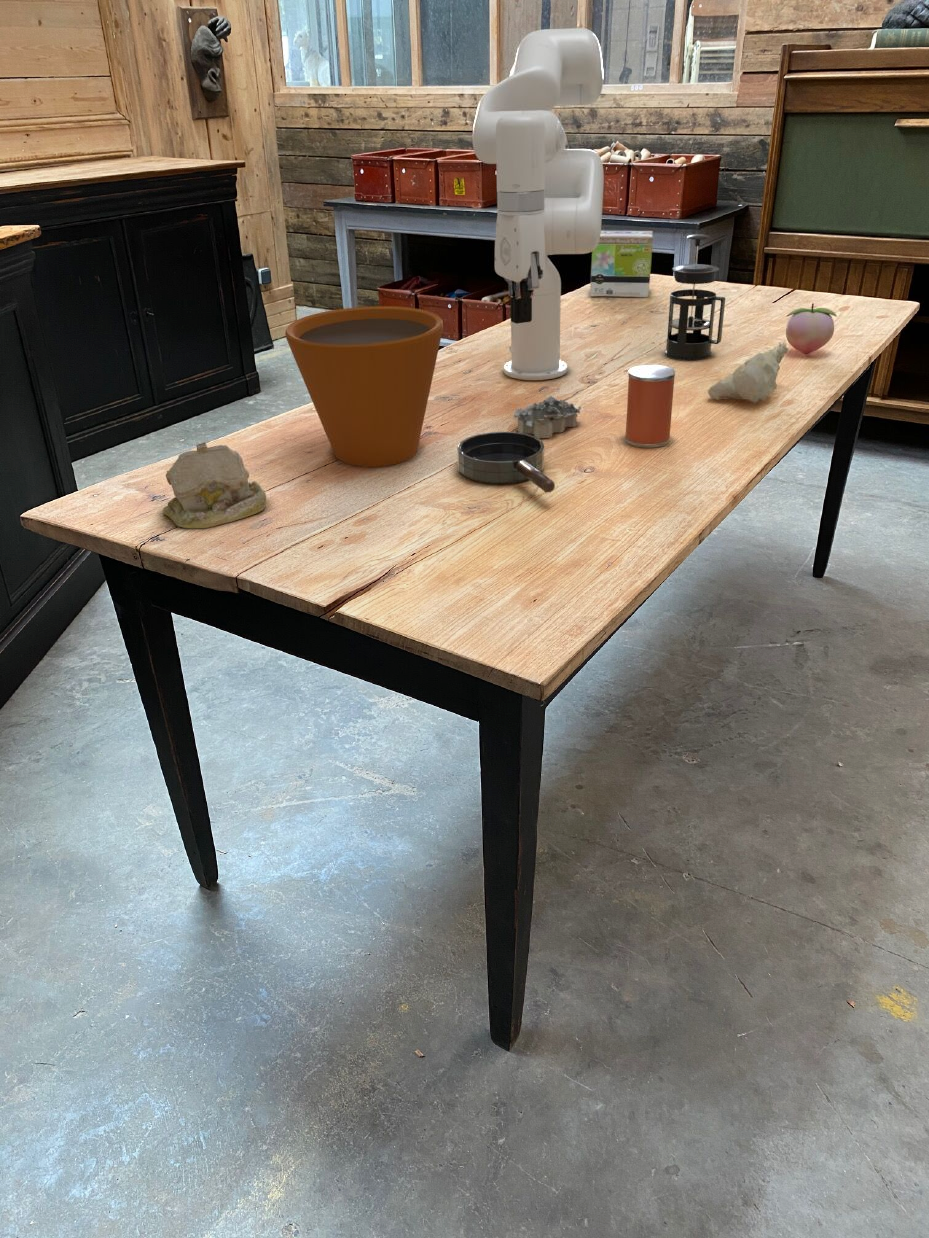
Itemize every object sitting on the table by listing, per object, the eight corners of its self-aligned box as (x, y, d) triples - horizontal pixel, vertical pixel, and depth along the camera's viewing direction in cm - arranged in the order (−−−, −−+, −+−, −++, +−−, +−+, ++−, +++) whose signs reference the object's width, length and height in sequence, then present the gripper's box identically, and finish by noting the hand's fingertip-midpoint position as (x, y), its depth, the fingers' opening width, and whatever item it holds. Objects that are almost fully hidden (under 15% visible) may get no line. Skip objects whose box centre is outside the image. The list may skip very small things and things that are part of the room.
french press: (654, 357, 192) (662, 237, 180) (671, 346, 199) (681, 230, 187) (709, 364, 186) (722, 241, 175) (725, 352, 193) (738, 233, 181)
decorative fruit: (824, 348, 193) (832, 298, 188) (833, 359, 186) (842, 307, 181) (777, 348, 194) (784, 298, 189) (785, 359, 187) (792, 308, 182)
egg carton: (542, 442, 153) (542, 417, 150) (509, 431, 157) (508, 407, 155) (584, 424, 159) (585, 400, 157) (551, 415, 163) (551, 392, 161)
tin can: (616, 437, 153) (620, 369, 147) (653, 430, 155) (658, 362, 150) (640, 451, 147) (644, 380, 142) (678, 443, 150) (684, 373, 144)
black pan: (445, 462, 146) (444, 440, 144) (520, 448, 150) (520, 426, 148) (479, 491, 136) (478, 468, 134) (559, 475, 140) (559, 452, 138)
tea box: (589, 298, 240) (591, 236, 233) (591, 289, 249) (593, 230, 241) (649, 298, 238) (653, 235, 230) (649, 289, 247) (652, 229, 239)
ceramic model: (171, 535, 127) (155, 465, 122) (159, 505, 136) (144, 439, 130) (273, 515, 131) (263, 447, 126) (255, 487, 140) (245, 422, 135)
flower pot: (286, 439, 158) (268, 318, 147) (418, 416, 165) (410, 299, 155) (325, 489, 139) (308, 353, 128) (472, 460, 146) (467, 330, 136)
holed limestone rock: (727, 424, 162) (805, 369, 156) (703, 390, 162) (780, 333, 156) (734, 423, 176) (805, 373, 170) (711, 391, 176) (782, 340, 170)
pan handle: (514, 471, 136) (514, 459, 135) (525, 469, 137) (525, 457, 136) (545, 495, 129) (545, 483, 128) (557, 493, 129) (557, 480, 128)
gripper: (479, 200, 153) (482, 316, 162) (520, 209, 141) (520, 333, 150) (521, 197, 155) (521, 311, 164) (564, 205, 143) (562, 328, 152)
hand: (521, 321), depth 157 cm, fingers closed
